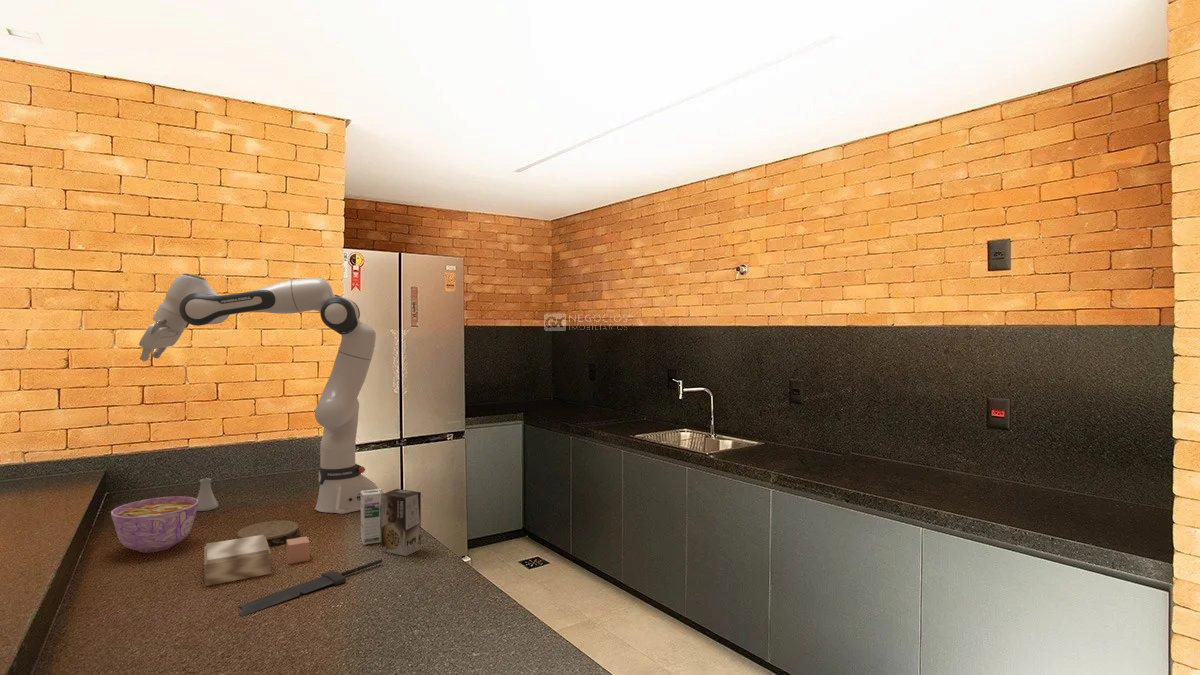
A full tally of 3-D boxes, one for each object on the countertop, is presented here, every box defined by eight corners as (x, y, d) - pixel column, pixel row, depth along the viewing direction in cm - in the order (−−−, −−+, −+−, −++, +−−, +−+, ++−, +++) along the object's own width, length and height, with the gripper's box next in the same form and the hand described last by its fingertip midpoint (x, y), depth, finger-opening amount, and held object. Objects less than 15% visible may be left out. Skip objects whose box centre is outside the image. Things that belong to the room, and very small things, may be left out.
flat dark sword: (229, 612, 137) (228, 603, 136) (374, 561, 164) (373, 553, 164) (242, 621, 132) (242, 612, 132) (389, 567, 159) (389, 560, 159)
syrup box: (362, 545, 175) (362, 494, 175) (360, 539, 180) (360, 489, 180) (384, 542, 178) (384, 492, 177) (381, 536, 183) (381, 487, 183)
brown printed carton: (421, 549, 173) (422, 491, 172) (405, 556, 167) (405, 497, 167) (396, 544, 177) (397, 487, 176) (380, 551, 171) (380, 493, 170)
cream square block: (265, 555, 167) (265, 533, 167) (271, 573, 155) (271, 549, 155) (204, 566, 159) (204, 543, 159) (204, 586, 147) (204, 561, 147)
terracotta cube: (306, 554, 168) (306, 536, 168) (309, 560, 164) (309, 541, 164) (286, 558, 165) (286, 539, 165) (288, 564, 161) (288, 545, 161)
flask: (205, 512, 204) (205, 482, 204) (187, 511, 205) (187, 481, 205) (223, 506, 211) (223, 477, 211) (205, 505, 212) (205, 476, 212)
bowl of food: (208, 547, 173) (207, 506, 172) (118, 567, 158) (118, 522, 158) (188, 530, 186) (188, 492, 186) (104, 547, 172) (104, 506, 171)
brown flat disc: (301, 542, 178) (301, 532, 178) (237, 553, 169) (237, 542, 169) (296, 527, 191) (296, 517, 191) (236, 535, 183) (236, 525, 183)
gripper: (168, 325, 188) (146, 366, 187) (191, 323, 208) (171, 360, 206) (146, 316, 186) (124, 357, 185) (171, 314, 206) (151, 352, 205)
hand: (149, 358), depth 196 cm, fingers open, 8 cm apart
